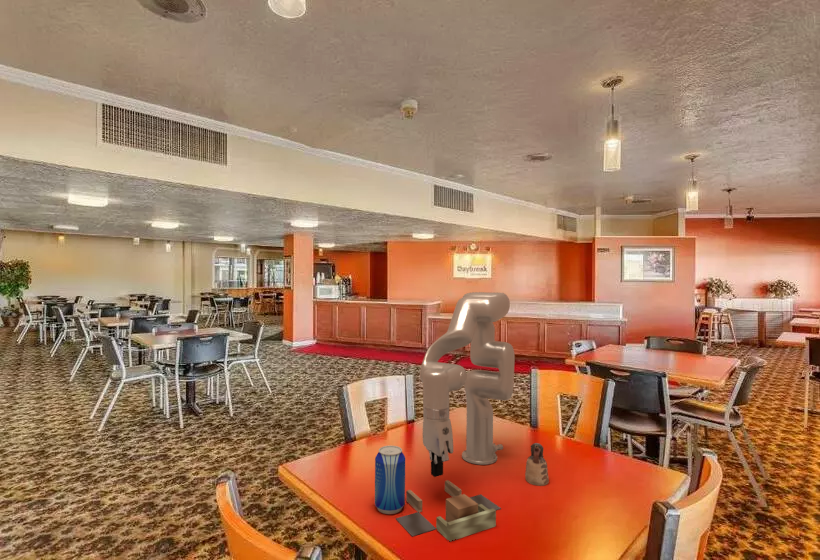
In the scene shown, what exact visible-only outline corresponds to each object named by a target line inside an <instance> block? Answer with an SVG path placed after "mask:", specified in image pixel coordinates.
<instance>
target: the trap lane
mask: <svg viewBox="0 0 820 560" xmlns="http://www.w3.org/2000/svg"><path fill="white" fill-rule="evenodd" d="M444 492H446V493H447V494H448V495H449V496H451V497H455V496H459V495H462V493H463V492H462V489H461V488H460V487H458V486H457V485H455V483H453V482H451V481H450V480H448V479H446V480H444ZM468 497H469V496H468ZM469 498H471V499H472V500H473V501H475V502H476V503H477V504H478V513H476V514H473V515H470V516H467V517H463V518H460V519H457V520H454V521H451V522H446V519H444V518H443V517H442V516H440V515H439V516H436V519H435V520H436V521H435V523H436V524H435V526H436V527H435V526H434V525H433V524H432V523H431V522H430V521H429V520H428V519H427V518H426V517H425V516H424V515H423V514H422V513H421V512H423V499H421V498H420V497H419V495H417V494H416V493H414V491H412V489H408V490H407V489H406V490H405V502H407V503H408V504H409V505H410V506H411V507H412V508H413V509H414V510H415V511H416V512H414V513H409V514H406V515H402V516H400V517H396V518H395V520H396V521H397V522H398V524H400V525H401V527H402V528H404V530H405V531H406V532H407V534H409V535H410V536H411V537H416V536H419V535H423V534H426V533H429V532H431V531H435V530H436V529H437V530H436V531H438V532H439V533H440V535H442V536H443V538H445V539H446V540H447V541H448V540H449V541H450V542H453V541H456V540H459V539H462V538H465V537H467V536H470V535H474V534H477V533H480V532H482V531H486V530H489V529H492V528H495V527H496V526H497V511H499V510H502V508H501V507H500V506H499V505H498V504H496V503H495V502H493V501H492V500H489V498H487V497H486V496H484V495H483V494H477V495H476V494H475V495H474V496H470V497H469ZM455 539H456V540H455ZM452 540H453V541H452ZM449 541H448V542H449Z"/></svg>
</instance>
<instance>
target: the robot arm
mask: <svg viewBox="0 0 820 560" xmlns="http://www.w3.org/2000/svg"><path fill="white" fill-rule="evenodd" d="M510 302H511V301H510V298H509V296H508V295H507V294H506V293H504V292H485V291H484V292H483V291H479V292H477V291H472V292H468V293H467V292H466V293H465V294H464V295H463V296H462V297H461V298H459V299H458V300H457V302H456V305H455V307H454V311H453V313H452V316H451V319H450V322H449V325H448V328H447V331H446V332H445V333H444V334H442V335H441V336H439V338H437V339H436V340H435V341H434V342H433V343H432V344H431V345H430V346H429V347H428V349H427V350H426V352H425V354H424V357H423V359H422V361H421V362H422V363H421V365H420V369H419V379H420V381H421V384H422V396H423V397H422V398H423V400H422V404H423V405H422V407H423V409H422V410H423V413H422V415H423V421H422V444H423V446H424V447H425V449H426V450H427V452H428V455H429V460H430V473H431V476H433V477H434V478H437V477H440V476H444V475H443V474H444V462H448V461H450V458H449V454H453V453H454V438H453V436H454V435H453V427H452V423H451V419H450V392H452V391H453V392H454V391H458V390H460V389H462V388H463V387H464V391H465V399H466V426H465V427H466V428H465V429H466V436H465V437H466V439H465V441H466V442H465V443H466V444H465V445H466V449H465V450H463V451H462V452H461V458H462V459H463V460H464V461H465V462H467V463H470V464H473V465H481V466H482V465H484V466H485V465H492V464H494V463H496V462H497V461H498V454H496V452H498V451H502V450H503V449H504V446H503V444H501V443H500V444H496V443H494V408H493V405H492V404H491V402H490V400H498V401H508V400H510V399H511V398H512V397H513V392H514V381H515V380H514V379H515V357H516V356H515V355H516V354H515V349H514V347H513V345H512V344H511V343H509V342H506V341H496V339H495V336H496V335H495V332H496V328H495V325H494V323H496V322H498V321H500V320H501V319H502V318H504V317H506V316H507V314H509V311H510V306H511V303H510ZM468 345H470V351H469V352H470V353H469V354H470V355H469V356H470V357H469V358H470V361H471V364H473V365H474V366H477V367H484V368H492V369H493V368H494V369H498V371H491V370H483V369H472V370H470V371H468V372H467V371H466V369H465V368H464V366H461V365H459V364H455V363H447V362H439V360H440V359H441V358H442V357H443V356H444V355H446V354H447V353H451V352H453V351H456V350H459V349H461V348H464V347H466V346H468ZM489 399H490V400H489Z"/></svg>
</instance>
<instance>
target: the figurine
mask: <svg viewBox="0 0 820 560" xmlns="http://www.w3.org/2000/svg"><path fill="white" fill-rule="evenodd" d="M548 470H549V469H548V462H547V460H546V459H545V458H544V446H543V445H542V444H541V443H538V442H535V443H532V444H530V456H528V458H527V460H526V462H525V474H524V475H525V481H526V482H527V483H529V484H530V485H533V486H538V487H543V486H544V487H546V486H547V485H548V484H549V482H550V481H549V479H550V477H549V471H548Z"/></svg>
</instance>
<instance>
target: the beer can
mask: <svg viewBox="0 0 820 560" xmlns="http://www.w3.org/2000/svg"><path fill="white" fill-rule="evenodd" d="M374 463H375V464H374V506H375V507H376V508H377V511H379V512H380V513H382V514H386V515H394V514H397V513H400V512H401V511H402V509H403V507H404V506H405V503H406V456H405V454H404V453H403V449H402V447H400V446H397V445H384V446H382V447H380V448H378V452H377V454H376V456H375V459H374Z"/></svg>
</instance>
